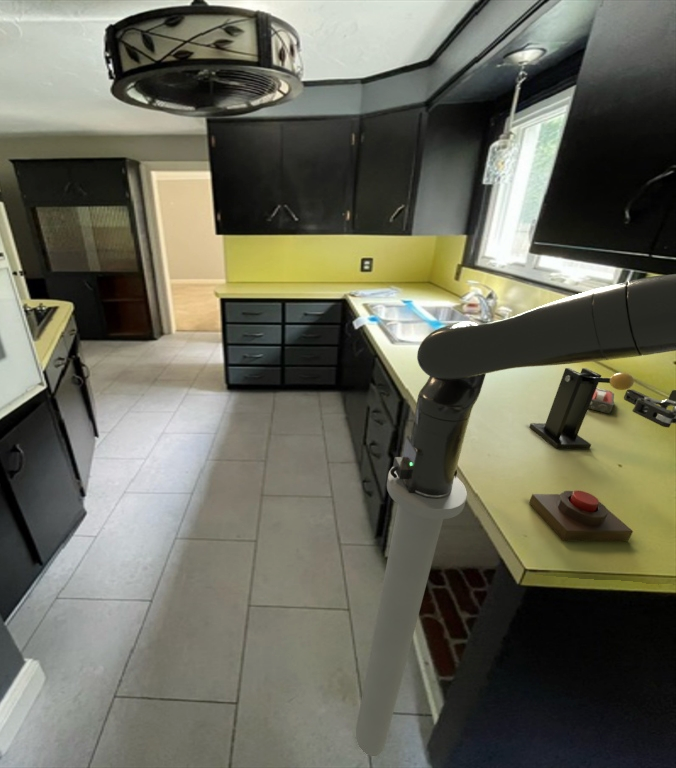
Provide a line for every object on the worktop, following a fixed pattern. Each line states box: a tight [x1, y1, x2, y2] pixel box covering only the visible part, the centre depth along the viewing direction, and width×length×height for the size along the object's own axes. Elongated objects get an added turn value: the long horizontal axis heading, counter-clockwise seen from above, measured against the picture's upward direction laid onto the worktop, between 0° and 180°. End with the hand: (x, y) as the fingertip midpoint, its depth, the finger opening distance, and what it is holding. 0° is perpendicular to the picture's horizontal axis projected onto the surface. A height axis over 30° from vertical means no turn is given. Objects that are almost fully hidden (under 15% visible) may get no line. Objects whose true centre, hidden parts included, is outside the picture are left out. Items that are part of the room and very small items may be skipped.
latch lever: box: [579, 372, 635, 391], centre depth 79 cm, size 13×4×4 cm, turn 0°
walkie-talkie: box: [588, 387, 615, 414], centre depth 105 cm, size 9×4×20 cm
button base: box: [528, 490, 634, 542], centre depth 64 cm, size 11×9×4 cm
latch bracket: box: [529, 367, 602, 450], centre depth 87 cm, size 10×8×18 cm
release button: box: [570, 490, 600, 512], centre depth 63 cm, size 4×4×2 cm
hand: (649, 394), depth 69 cm, fingers open, 8 cm apart
